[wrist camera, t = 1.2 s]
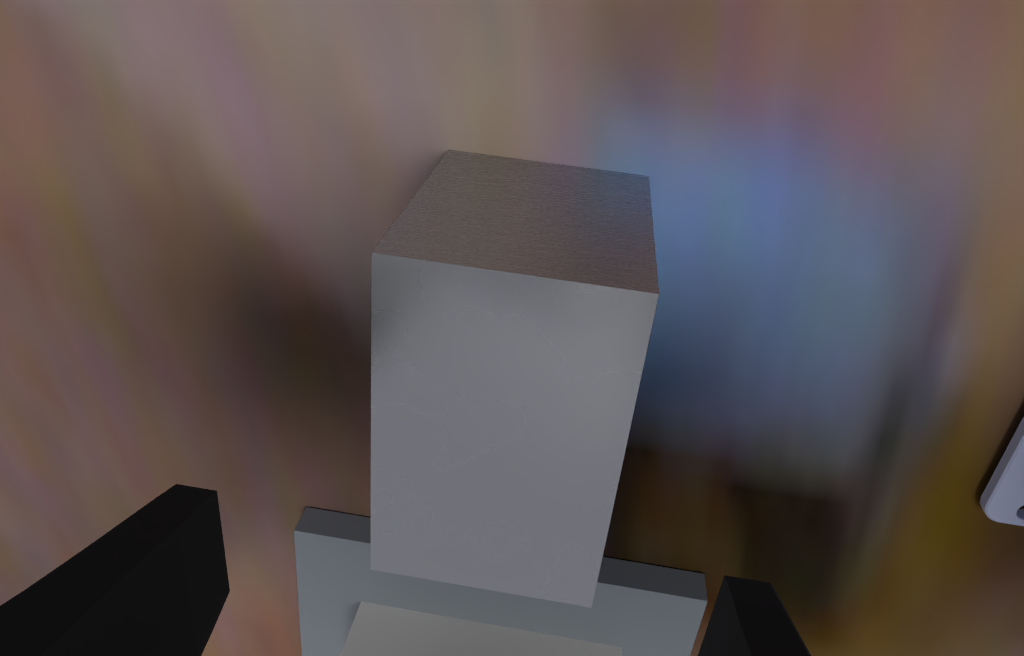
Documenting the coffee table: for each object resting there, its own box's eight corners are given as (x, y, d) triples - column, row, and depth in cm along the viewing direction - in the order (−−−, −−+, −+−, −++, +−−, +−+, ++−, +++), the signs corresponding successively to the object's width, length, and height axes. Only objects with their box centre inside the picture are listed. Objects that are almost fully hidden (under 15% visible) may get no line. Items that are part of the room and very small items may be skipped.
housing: (648, 175, 17) (658, 293, 11) (600, 427, 20) (591, 607, 15) (449, 148, 17) (371, 252, 12) (435, 402, 20) (370, 569, 15)
